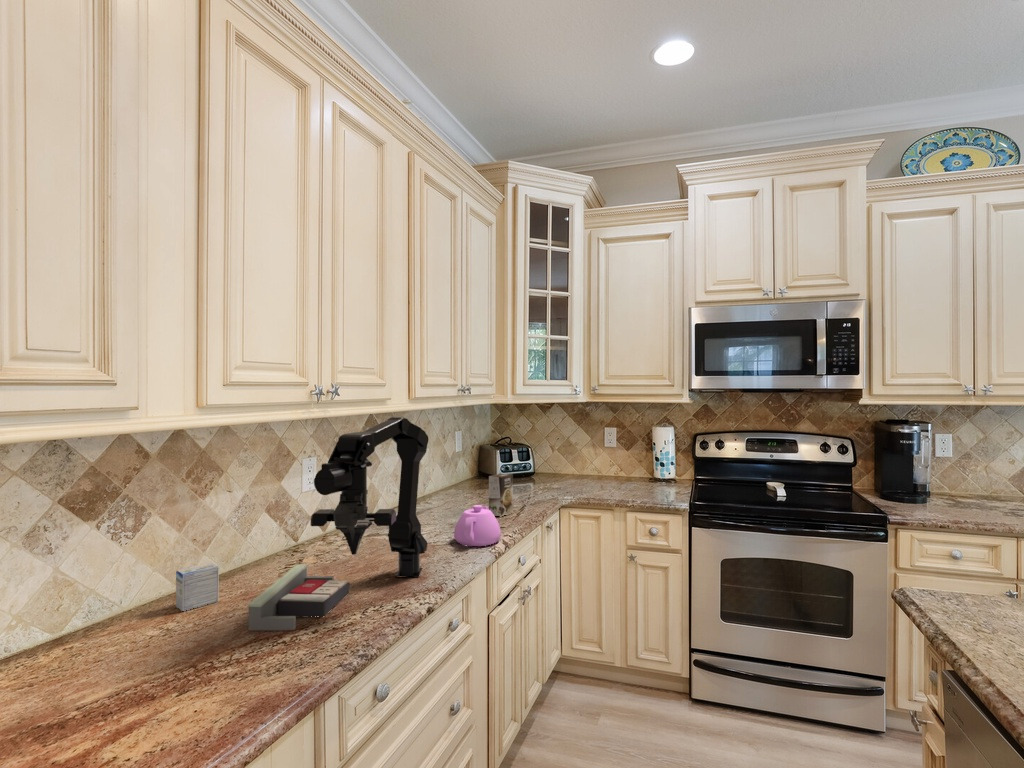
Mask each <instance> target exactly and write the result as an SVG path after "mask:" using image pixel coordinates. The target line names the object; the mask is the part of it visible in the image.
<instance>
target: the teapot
mask: <svg viewBox="0 0 1024 768" xmlns="http://www.w3.org/2000/svg"><path fill="white" fill-rule="evenodd" d="M453 537H454V540H455V541H456V542H457V543H458V544H459V543H460V544H463V545H467V546H466V547H468V546H485V545H490V546H492V545H491V544H493V545H495V544H497V542H498V541H499V540H500V538H501V537H502V531H501V526H500V524H499V521H498V519H497V517H495V516H494V514H493V513H492V512H491V511H490V510H489V506H487V505H485V506H483V505H480V504H474V505H472V508H469V509H467V510H464V511H463V512H462V513H461V515H460V517H459V519H458V520H457V522H456V524H455V527H454V531H453ZM494 543H495V544H494ZM463 545H462V546H463ZM485 547H486V546H485Z"/></svg>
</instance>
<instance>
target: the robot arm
mask: <svg viewBox="0 0 1024 768" xmlns="http://www.w3.org/2000/svg"><path fill="white" fill-rule="evenodd" d="M390 439H391V440H392V441H393V442H395V443H396V452H397V454H398V457H399V459H400V460H401V463H400V464H401V465H400V477H399V489H398V490H399V491H398V502H397V504H398V505H397V511H395V509H394V508H380V509H378V510H377V511H375V512H368V511H369V510H368V505H367V504H368V503H367V501H368V500H367V498H368V491H369V490H368V488H367V487H368V485H367V483H368V482H367V481H368V479H367V477H368V475H367V473H368V472H367V468H368V467H371V466H373V463H372V462H371V461H370V460H369V459H368V457H370V456H371V455H373V453H374V452H375V450H376V447H377V446H378V445H381V444H383V443H385V442H386V441H389V440H390ZM428 444H429V435H428V434H427V433H426V431H425V430H423V428H422V427H420V426H418V425H416V424H414V423H413V422H411V421H410V420H409V419H408V418H405V417H395V416H393V417H390V418H388V419H387V420H385V421H383V422H381V423H379V424H377V425H374V426H372V427H370V428H368V429H365V430H363V431H356V432H350V433H343V434H341V435H339V437H338V440H337V442H336V444H335V446H334V448H333V450H332V453H331V454H330V457H329V458H328V460H327V463H326V462H325V463H322V464H321V469H319V470H318V472H316V474H315V476H314V478H313V485H314V488H315V490H316V491H317V493H318V494H320V495H322V496H328V495H329V496H330V495H332V494H336V493H340V492H341V493H340V494H339V501H338V504H337V505H336V507H335V509H333V508H332V509H330V508H329V509H326V508H324V509H323V508H321V509H318V510H317V511H315V512H314V513H313V514H311V516H310V526H311V527H325V526H326V524H327V523H328V522H334V527H335V530H337V531H338V530H339V531H340V532H341V533H342V534H343V536H344V537H345V539H346V543H347V545H348V548H349V551H350V554H351V555H352V556H353V555H357V553H358V550H359V547H360V544H361V541H362V539H363V536H364V534H365V532H366V530H367V529H369V528H370V527H371V526H372V524H373V522H374V524H375V525H376V526H377V527H388V532H387V537H388V538H387V539H388V543H389V547H390V552H392V553H393V552H394V553H398V556H397V558H398V565H397V566H398V570H397V571H396V573H395V575H394V577H395V576H419V575H420V576H421V574H422V572H423V570H422V569H423V568H422V567H420V562H421V560H420V558H421V557H420V555H422V554H425V553H426V552H427V549H428V541H427V540H426V539H425V537H424V535H423V534H422V524H421V522H420V521H419V518H418V517H417V502H418V493H419V492H418V491H419V490H418V489H419V478H420V476H419V474H420V463H421V461H422V460H423V458H424V456H425V455H426V454H427V449H428ZM421 571H422V572H421ZM420 573H421V574H420ZM420 576H419V577H420Z"/></svg>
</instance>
